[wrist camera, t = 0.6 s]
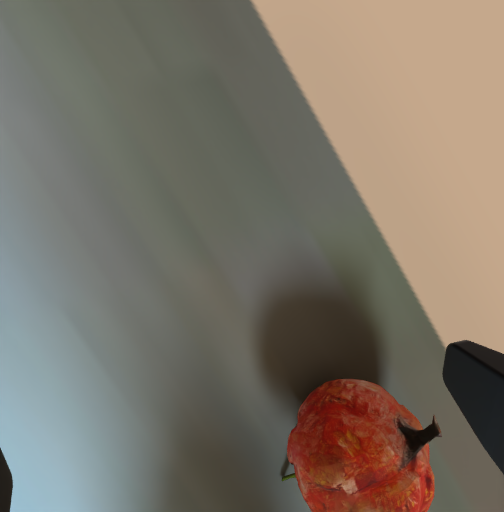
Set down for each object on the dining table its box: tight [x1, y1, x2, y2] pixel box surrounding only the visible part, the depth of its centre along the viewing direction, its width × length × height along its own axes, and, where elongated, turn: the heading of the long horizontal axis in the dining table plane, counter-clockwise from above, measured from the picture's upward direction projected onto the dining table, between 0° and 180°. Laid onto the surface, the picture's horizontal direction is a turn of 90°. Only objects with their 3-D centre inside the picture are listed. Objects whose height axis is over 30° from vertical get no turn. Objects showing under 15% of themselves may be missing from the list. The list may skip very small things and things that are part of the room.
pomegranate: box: [282, 379, 442, 512], centre depth 22 cm, size 7×7×10 cm
